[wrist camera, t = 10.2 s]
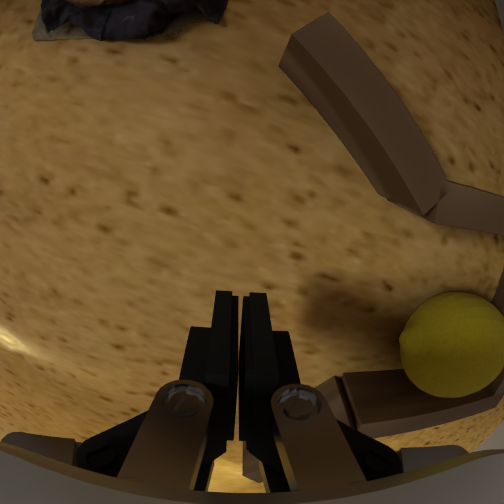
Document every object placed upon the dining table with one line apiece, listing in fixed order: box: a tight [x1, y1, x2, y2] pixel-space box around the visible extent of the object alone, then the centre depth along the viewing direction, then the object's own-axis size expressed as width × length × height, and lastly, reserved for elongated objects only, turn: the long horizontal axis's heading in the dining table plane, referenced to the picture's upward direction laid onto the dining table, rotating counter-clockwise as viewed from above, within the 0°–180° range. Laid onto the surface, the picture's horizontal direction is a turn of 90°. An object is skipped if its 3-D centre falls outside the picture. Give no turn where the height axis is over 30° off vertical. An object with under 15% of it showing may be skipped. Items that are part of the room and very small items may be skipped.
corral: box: [243, 12, 504, 483], centre depth 13 cm, size 22×17×4 cm
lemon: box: [399, 292, 504, 398], centre depth 12 cm, size 6×6×8 cm
